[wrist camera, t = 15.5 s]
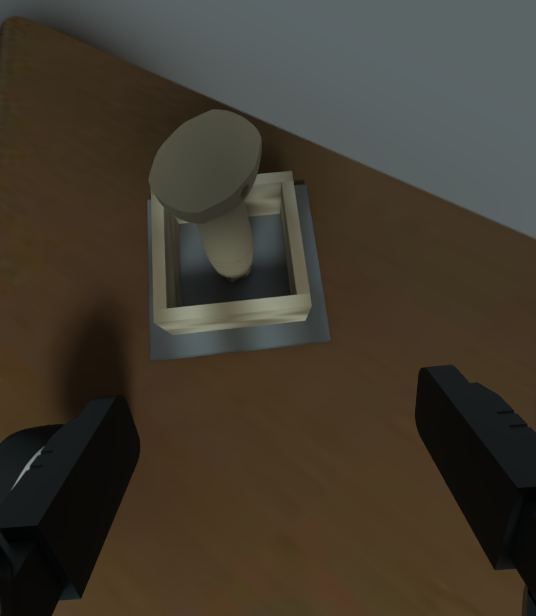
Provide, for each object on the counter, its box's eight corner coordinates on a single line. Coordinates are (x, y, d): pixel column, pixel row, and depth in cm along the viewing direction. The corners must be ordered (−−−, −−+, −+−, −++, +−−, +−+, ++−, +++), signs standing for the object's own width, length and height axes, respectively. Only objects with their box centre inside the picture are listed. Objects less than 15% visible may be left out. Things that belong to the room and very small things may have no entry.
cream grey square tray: (305, 190, 35) (311, 148, 29) (329, 341, 31) (342, 328, 25) (150, 205, 35) (127, 166, 29) (154, 361, 31) (126, 352, 25)
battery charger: (98, 413, 30) (-5, 421, 19) (136, 431, 29) (55, 450, 18) (55, 495, 28) (-85, 556, 17) (95, 515, 28) (-22, 592, 17)
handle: (194, 280, 32) (129, 180, 17) (234, 229, 33) (206, 96, 19) (235, 308, 31) (204, 229, 16) (275, 255, 32) (279, 137, 18)
